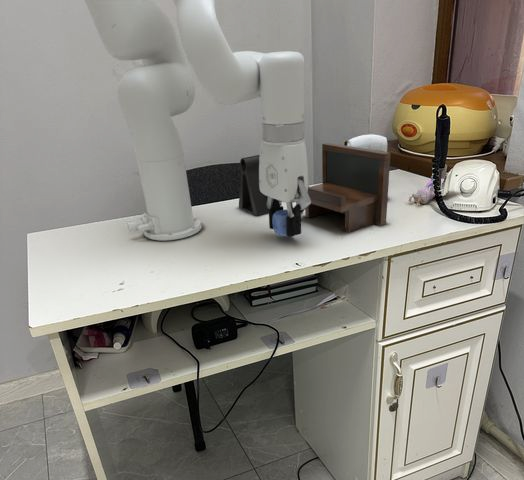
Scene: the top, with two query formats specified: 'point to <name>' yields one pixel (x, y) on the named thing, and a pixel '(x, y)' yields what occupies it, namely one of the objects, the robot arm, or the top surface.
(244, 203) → the phone stand
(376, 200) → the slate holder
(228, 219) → the top surface
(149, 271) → the top surface
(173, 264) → the top surface
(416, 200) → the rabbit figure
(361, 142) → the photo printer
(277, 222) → the decorative dice
